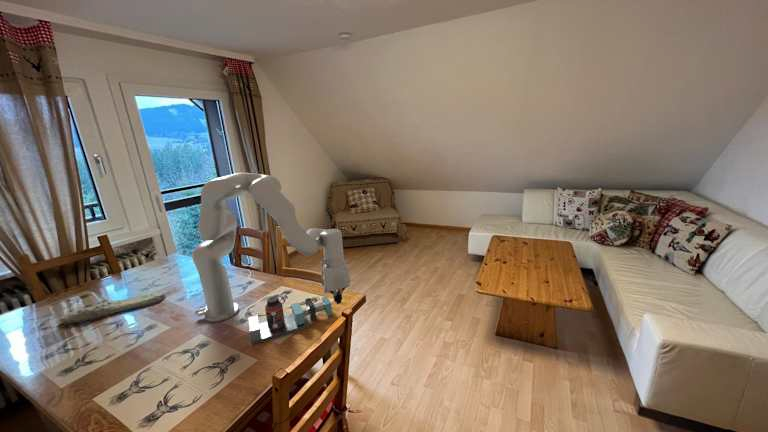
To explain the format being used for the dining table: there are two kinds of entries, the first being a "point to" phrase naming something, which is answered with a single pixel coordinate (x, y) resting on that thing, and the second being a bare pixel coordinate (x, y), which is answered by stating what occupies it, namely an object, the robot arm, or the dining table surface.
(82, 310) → the long grey stone
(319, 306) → the blue dumbbell
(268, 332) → the press bed
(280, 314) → the supplement bottle
